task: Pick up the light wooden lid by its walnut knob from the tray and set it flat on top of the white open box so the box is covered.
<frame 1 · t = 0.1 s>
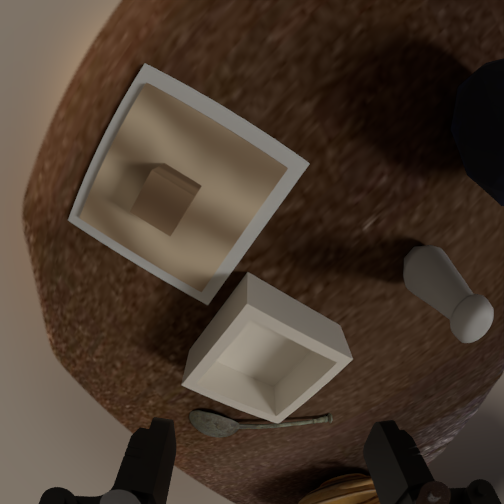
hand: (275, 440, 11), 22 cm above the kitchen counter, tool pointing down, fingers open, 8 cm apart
white open box: (263, 339, 36), on the kitchen counter
tray: (175, 189, 29), on the kitchen counter
ceramic bowl: (342, 482, 55), on the kitchen counter
lid: (174, 190, 29), point 1 cm above the kitchen counter, touching tray
soupspoon: (259, 417, 44), on the kitchen counter
salt shaker: (416, 261, 33), on the kitchen counter
decorative orb: (476, 126, 26), on the kitchen counter
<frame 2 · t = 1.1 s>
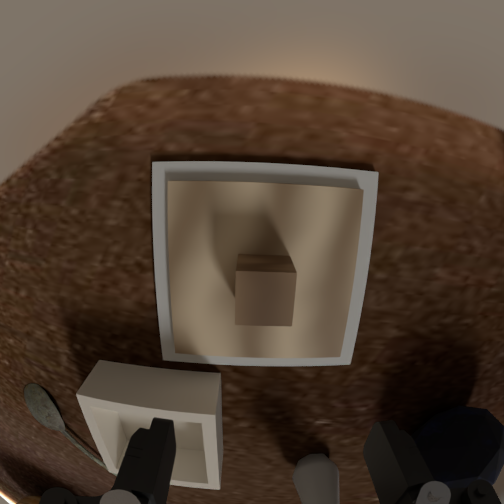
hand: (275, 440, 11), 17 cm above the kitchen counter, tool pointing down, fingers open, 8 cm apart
white open box: (163, 412, 31), on the kitchen counter
tray: (262, 273, 26), on the kitchen counter
lid: (262, 275, 26), point 1 cm above the kitchen counter, touching tray
soupspoon: (82, 436, 34), on the kitchen counter
salt shaker: (312, 460, 34), on the kitchen counter
decorative orb: (434, 424, 33), on the kitchen counter
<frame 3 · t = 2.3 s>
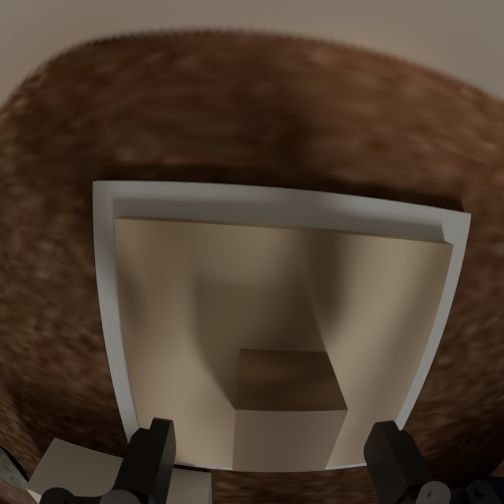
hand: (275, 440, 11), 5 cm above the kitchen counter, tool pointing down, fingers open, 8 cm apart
white open box: (140, 496, 20), on the kitchen counter
tray: (277, 367, 16), on the kitchen counter
lid: (277, 374, 15), point 1 cm above the kitchen counter, touching tray
soupspoon: (53, 495, 23), on the kitchen counter
decorative orb: (457, 492, 22), on the kitchen counter
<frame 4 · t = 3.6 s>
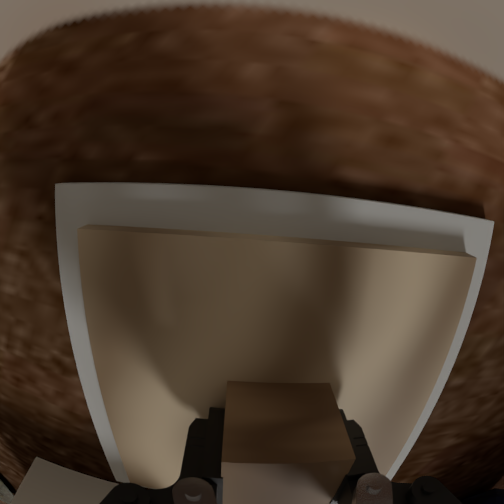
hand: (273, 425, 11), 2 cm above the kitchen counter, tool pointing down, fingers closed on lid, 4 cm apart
tray: (271, 396, 13), on the kitchen counter
lid: (272, 405, 13), point 1 cm above the kitchen counter, touching gripper, tray
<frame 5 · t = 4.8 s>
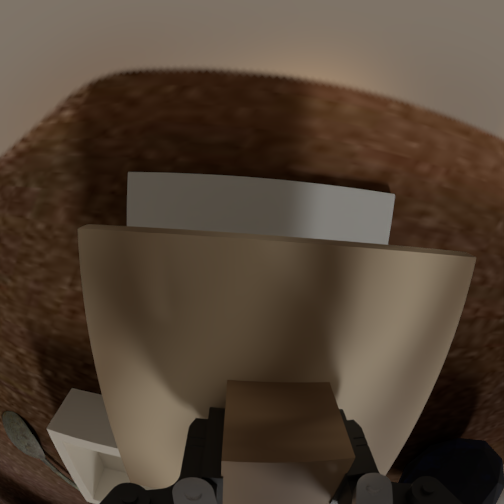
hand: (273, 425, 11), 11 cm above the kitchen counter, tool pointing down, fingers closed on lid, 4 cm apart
white open box: (142, 444, 26), on the kitchen counter
tray: (254, 306, 22), on the kitchen counter
lid: (272, 404, 13), point 10 cm above the kitchen counter, touching gripper
soupspoon: (63, 464, 29), on the kitchen counter
decorative orb: (428, 454, 30), on the kitchen counter
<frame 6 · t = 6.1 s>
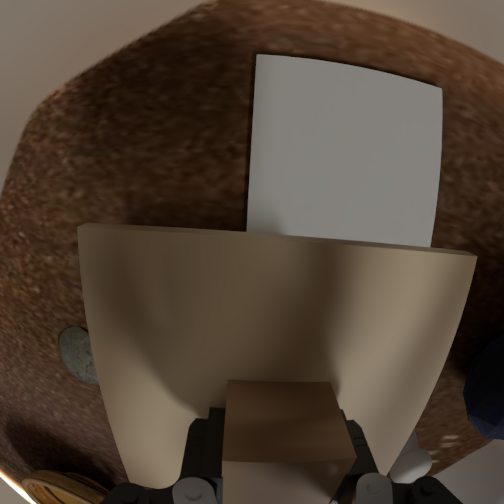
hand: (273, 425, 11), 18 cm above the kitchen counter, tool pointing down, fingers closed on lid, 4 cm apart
tray: (353, 163, 26), on the kitchen counter
ceramic bowl: (88, 487, 42), on the kitchen counter
lid: (273, 404, 13), point 17 cm above the kitchen counter, touching gripper
soupspoon: (122, 393, 34), on the kitchen counter
salt shaker: (378, 395, 33), on the kitchen counter
decorative orb: (486, 357, 33), on the kitchen counter
when the fingers open (9 cm above the kitchen counter, at t = 9.0 s): lid drops 1 cm, resting on white open box.
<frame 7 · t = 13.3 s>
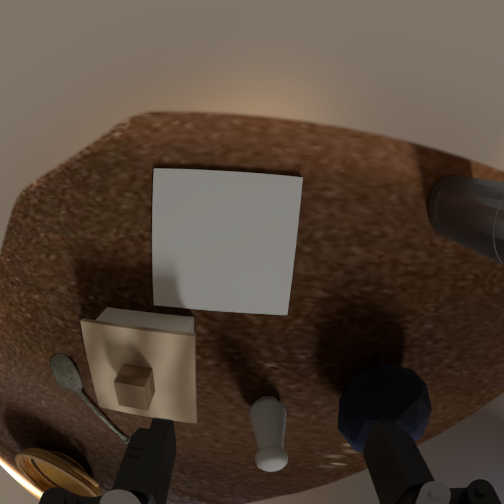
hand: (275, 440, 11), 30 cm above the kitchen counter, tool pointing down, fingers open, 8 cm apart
white open box: (151, 350, 44), on the kitchen counter
tray: (222, 243, 39), on the kitchen counter
ceramic bowl: (67, 464, 54), on the kitchen counter
lid: (141, 374, 38), point 6 cm above the kitchen counter, touching white open box
soupspoon: (92, 398, 47), on the kitchen counter
salt shaker: (266, 403, 47), on the kitchen counter
decorative orb: (370, 383, 46), on the kitchen counter
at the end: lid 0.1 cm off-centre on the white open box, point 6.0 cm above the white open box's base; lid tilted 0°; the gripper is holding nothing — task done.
